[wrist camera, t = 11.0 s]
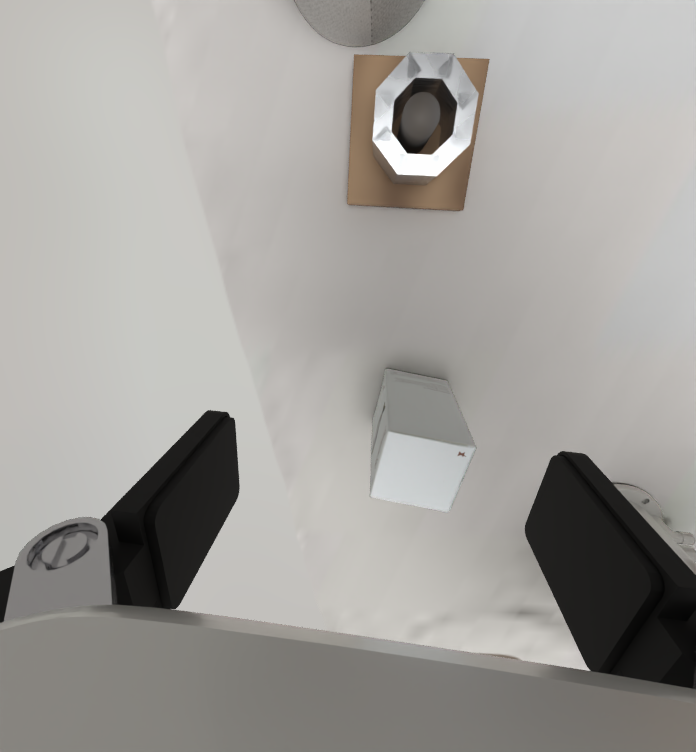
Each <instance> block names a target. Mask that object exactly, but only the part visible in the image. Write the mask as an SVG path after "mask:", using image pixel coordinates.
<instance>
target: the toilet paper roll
mask: <svg viewBox="0 0 696 752" xmlns="http://www.w3.org/2000/svg"><path fill="white" fill-rule="evenodd" d="M294 1H295V3H296V5H297V7H298V9H299V10H300V12H301V13H302V15H303V16H304V18H305V19H306V20H307V22H308V23H309V24H310V25H311V26H312V27H313V28H314V29H315V30H316V31H317V32H318V33H319V34H320V35H322V36H323V37H325V38H326V39H328V40H330V41H332V42H334V43H337V44H340V45H344V46H352V47H360V46H368V45H373V44H376V43H379V42H381V41H384V40H386V39H388V38H389V37H391V36H393V35H394V34H396V33H397V32H398V31H400V30H401V29H402V28H403V27H404V26H405V25H406V24H407V23H408V22H409V21H410V20H411V19H412V18H413V16H414V15H415V14H416V13H417V11H418V10H419V8H420V7H421V5H422V4H423V2H424V0H294Z"/></svg>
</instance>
